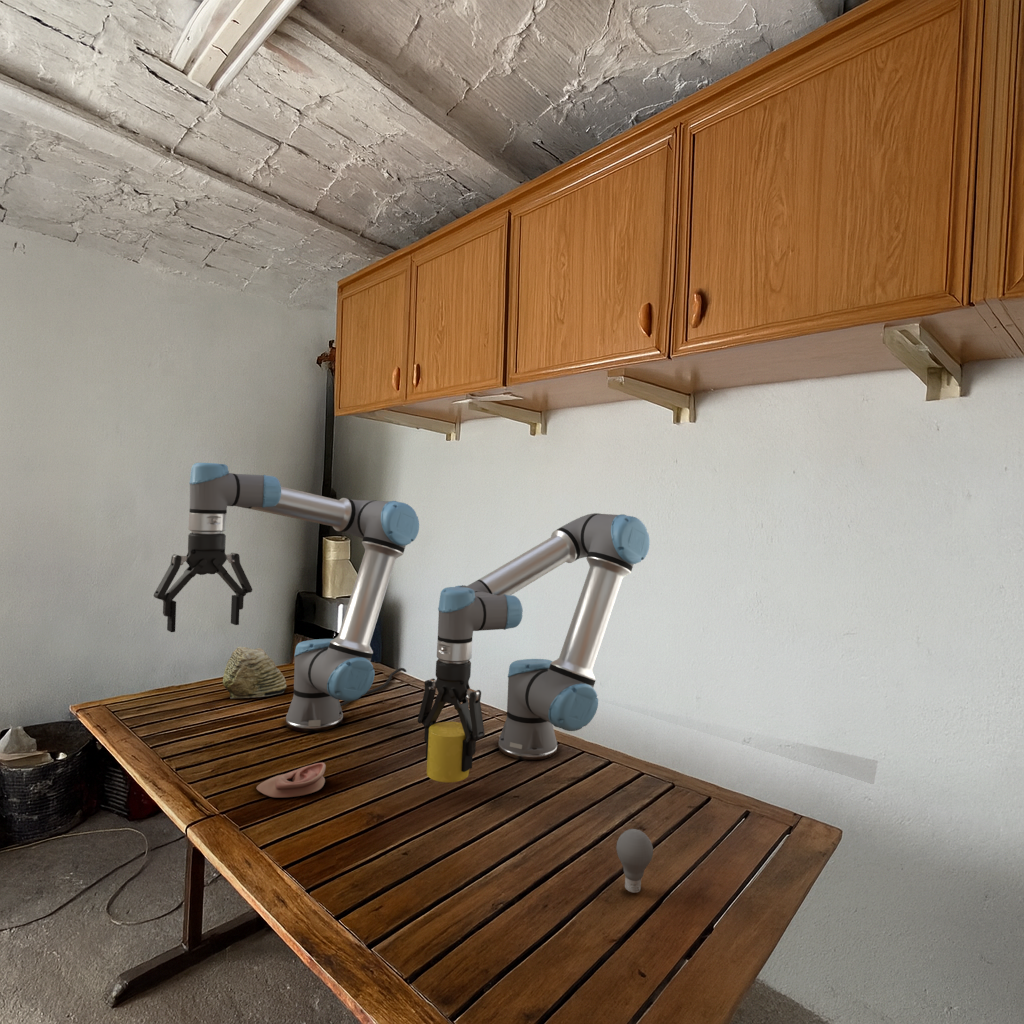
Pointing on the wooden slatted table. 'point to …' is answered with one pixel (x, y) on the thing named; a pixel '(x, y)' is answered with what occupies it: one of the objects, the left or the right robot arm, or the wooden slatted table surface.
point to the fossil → (252, 674)
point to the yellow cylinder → (446, 752)
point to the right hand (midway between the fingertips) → (448, 763)
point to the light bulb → (634, 857)
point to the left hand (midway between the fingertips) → (204, 627)
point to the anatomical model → (295, 782)
